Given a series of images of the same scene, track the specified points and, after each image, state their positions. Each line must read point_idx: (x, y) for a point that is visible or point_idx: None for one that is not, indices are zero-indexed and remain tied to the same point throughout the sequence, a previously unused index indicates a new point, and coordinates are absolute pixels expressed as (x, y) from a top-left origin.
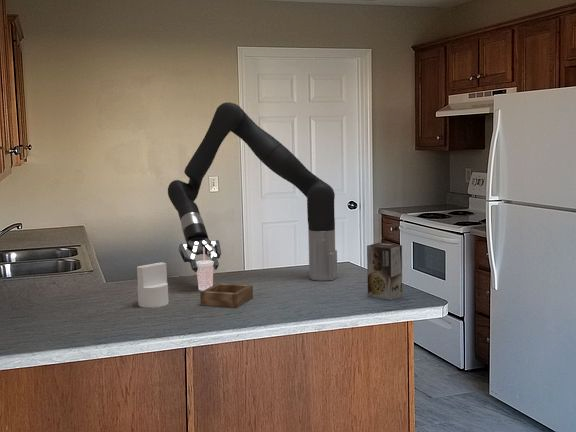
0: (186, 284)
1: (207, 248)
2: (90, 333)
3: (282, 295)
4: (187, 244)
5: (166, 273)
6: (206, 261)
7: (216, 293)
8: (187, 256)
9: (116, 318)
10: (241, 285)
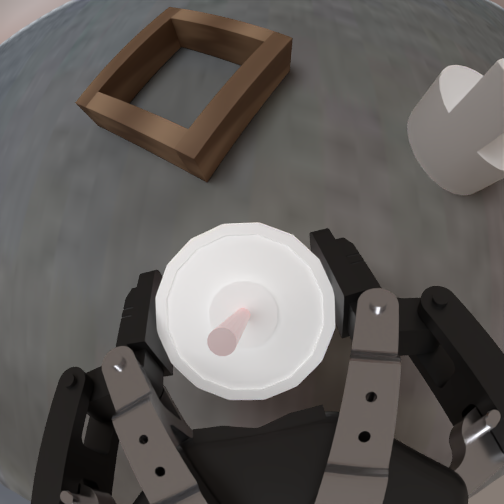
0: None
1: (168, 435)
2: (472, 15)
3: (26, 149)
4: (463, 483)
5: (471, 89)
6: (223, 299)
7: (231, 19)
8: (431, 305)
9: (479, 61)
10: (108, 102)
